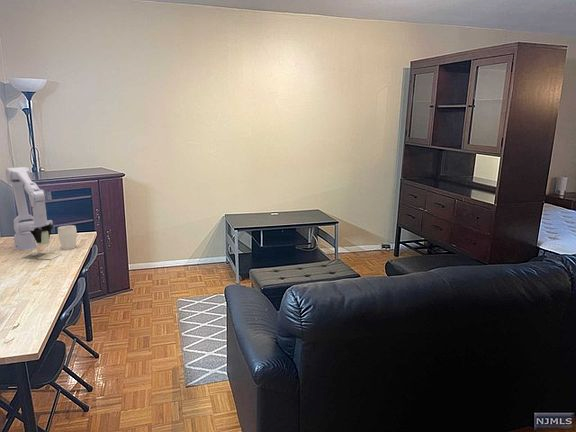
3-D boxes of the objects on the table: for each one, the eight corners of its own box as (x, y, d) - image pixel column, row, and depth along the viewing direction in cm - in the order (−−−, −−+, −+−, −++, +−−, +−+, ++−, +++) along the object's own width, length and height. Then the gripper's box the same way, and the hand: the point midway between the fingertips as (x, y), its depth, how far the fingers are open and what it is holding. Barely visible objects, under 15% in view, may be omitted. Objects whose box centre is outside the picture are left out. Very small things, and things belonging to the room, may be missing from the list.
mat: (21, 259, 213) (21, 257, 212) (33, 253, 221) (33, 252, 221) (50, 260, 211) (50, 259, 211) (62, 255, 219) (62, 254, 219)
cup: (72, 251, 227) (70, 229, 224) (56, 250, 227) (53, 229, 224) (81, 246, 235) (79, 225, 233) (65, 245, 236) (63, 225, 233)
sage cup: (34, 244, 212) (33, 232, 210) (42, 241, 217) (40, 230, 216) (44, 244, 211) (42, 233, 210) (51, 241, 216) (50, 230, 215)
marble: (30, 256, 215) (29, 250, 214) (34, 254, 218) (33, 249, 217) (35, 256, 215) (34, 251, 214) (39, 255, 218) (38, 249, 217)
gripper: (36, 218, 203) (40, 245, 206) (56, 212, 217) (59, 237, 220) (23, 217, 204) (27, 244, 207) (44, 211, 218) (47, 236, 221)
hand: (43, 241), depth 214 cm, fingers closed on sage cup, 5 cm apart
